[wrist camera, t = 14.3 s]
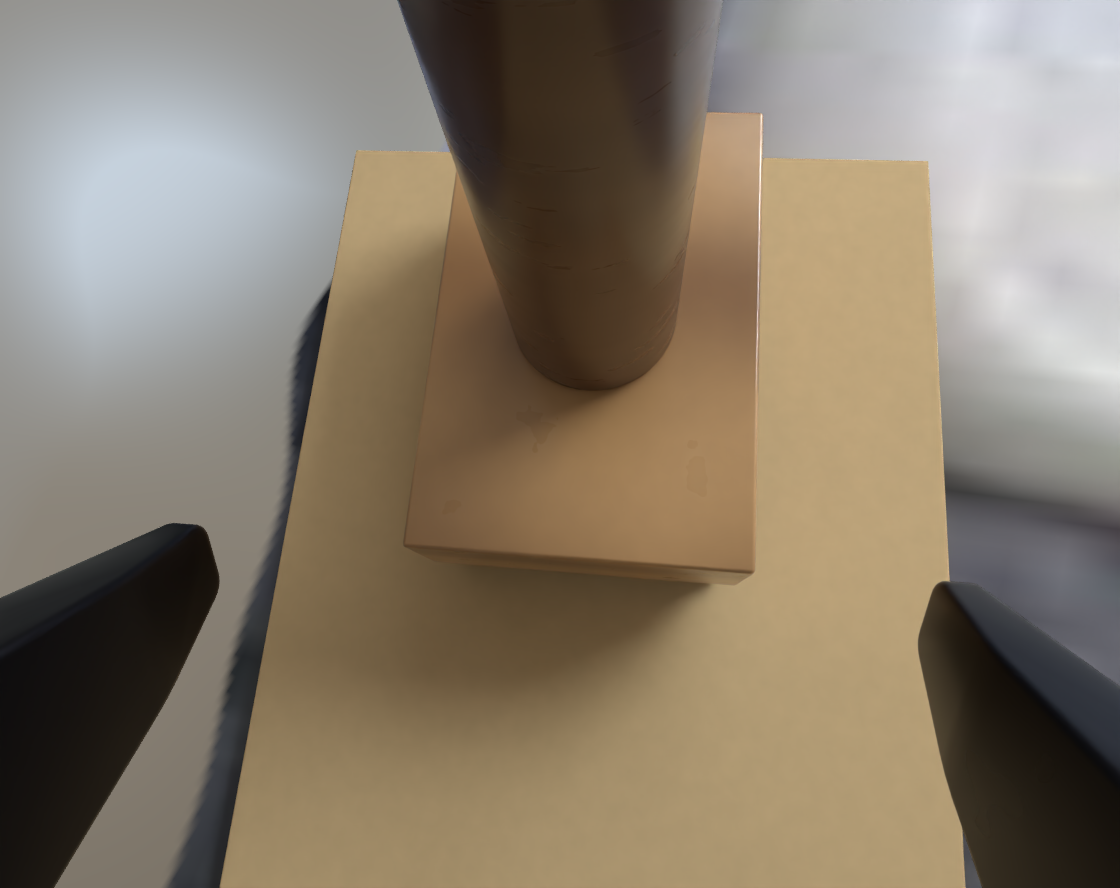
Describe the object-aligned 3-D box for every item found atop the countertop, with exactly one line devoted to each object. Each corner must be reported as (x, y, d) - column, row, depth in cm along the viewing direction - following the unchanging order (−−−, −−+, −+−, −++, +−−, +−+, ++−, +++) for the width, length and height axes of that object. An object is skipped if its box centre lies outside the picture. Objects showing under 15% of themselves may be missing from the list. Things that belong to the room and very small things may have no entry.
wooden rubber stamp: (730, 590, 15) (1023, 404, 4) (444, 567, 16) (-3, 351, 5) (740, 205, 18) (941, -595, 6) (491, 199, 18) (271, -538, 7)
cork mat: (981, 1345, 12) (989, 1362, 12) (168, 1200, 14) (158, 1212, 13) (923, 168, 18) (928, 160, 18) (359, 157, 19) (355, 150, 19)
